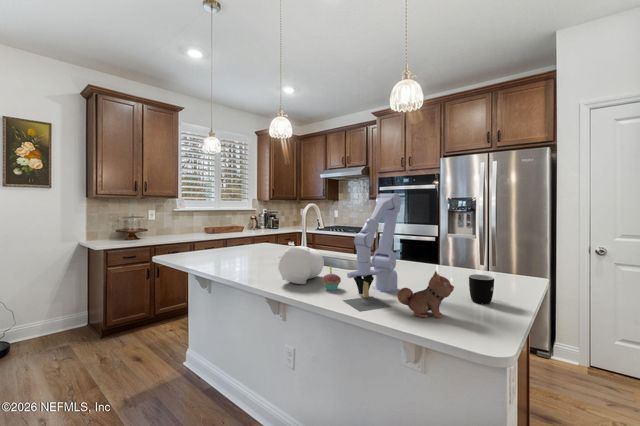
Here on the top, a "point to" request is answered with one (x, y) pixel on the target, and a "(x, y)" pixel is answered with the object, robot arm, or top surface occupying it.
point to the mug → (481, 288)
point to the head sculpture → (300, 264)
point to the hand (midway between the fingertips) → (363, 293)
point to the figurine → (427, 296)
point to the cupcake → (331, 280)
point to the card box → (365, 290)
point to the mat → (366, 303)
